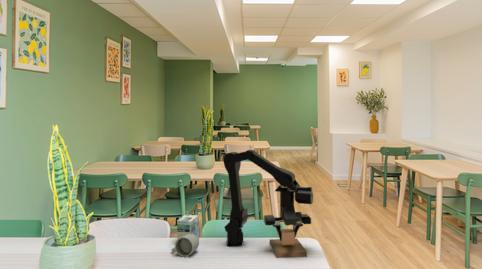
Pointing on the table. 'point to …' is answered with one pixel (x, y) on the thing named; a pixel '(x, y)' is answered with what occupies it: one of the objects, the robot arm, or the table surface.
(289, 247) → the walnut board
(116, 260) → the table surface
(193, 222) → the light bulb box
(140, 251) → the table surface
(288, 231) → the terracotta cube
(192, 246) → the ceramic mug
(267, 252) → the table surface
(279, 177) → the robot arm
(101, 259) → the table surface
